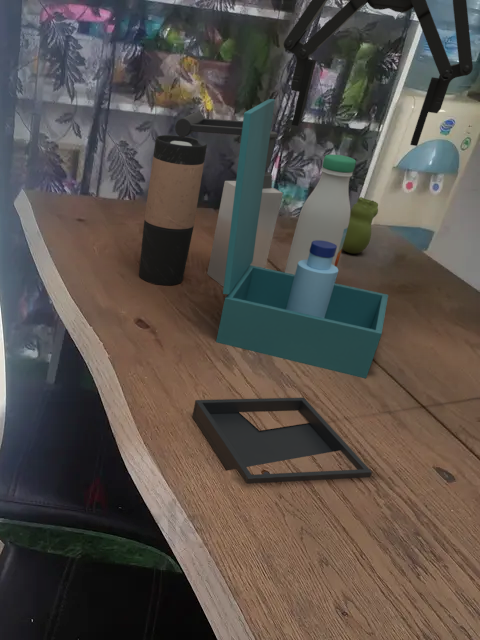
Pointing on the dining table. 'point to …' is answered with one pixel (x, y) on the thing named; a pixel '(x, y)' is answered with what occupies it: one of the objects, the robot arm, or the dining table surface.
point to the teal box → (303, 323)
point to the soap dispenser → (264, 229)
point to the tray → (271, 438)
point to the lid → (240, 179)
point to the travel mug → (171, 208)
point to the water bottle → (314, 281)
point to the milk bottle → (324, 211)
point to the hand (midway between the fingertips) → (353, 134)
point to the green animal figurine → (360, 225)
